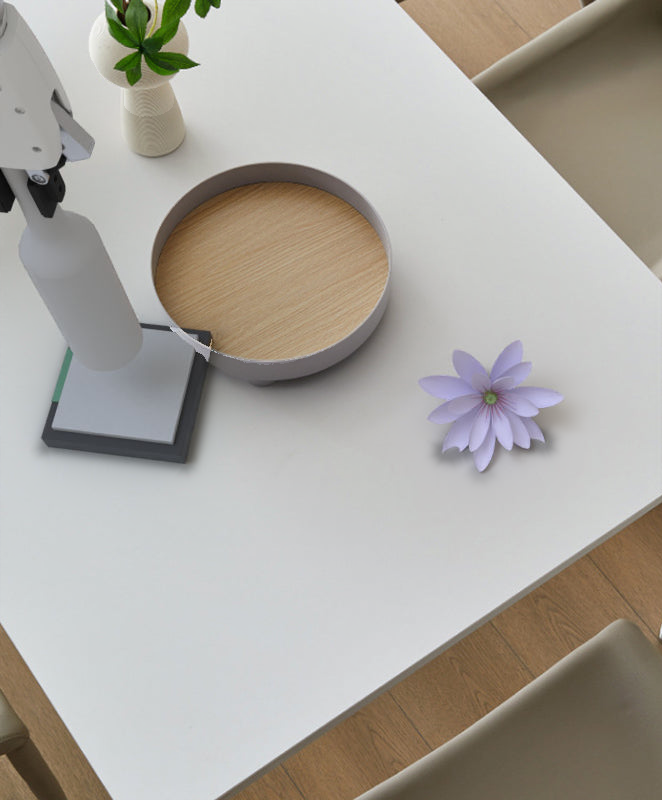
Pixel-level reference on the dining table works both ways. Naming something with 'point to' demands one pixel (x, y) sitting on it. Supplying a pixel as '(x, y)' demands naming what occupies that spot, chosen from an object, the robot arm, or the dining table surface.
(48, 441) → the scale
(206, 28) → the dining table surface
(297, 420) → the dining table surface
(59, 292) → the bottle
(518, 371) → the water lily
